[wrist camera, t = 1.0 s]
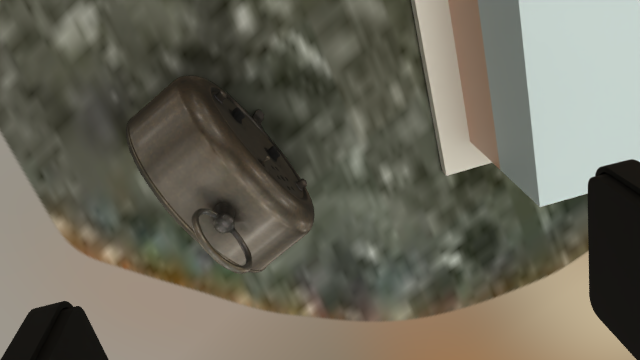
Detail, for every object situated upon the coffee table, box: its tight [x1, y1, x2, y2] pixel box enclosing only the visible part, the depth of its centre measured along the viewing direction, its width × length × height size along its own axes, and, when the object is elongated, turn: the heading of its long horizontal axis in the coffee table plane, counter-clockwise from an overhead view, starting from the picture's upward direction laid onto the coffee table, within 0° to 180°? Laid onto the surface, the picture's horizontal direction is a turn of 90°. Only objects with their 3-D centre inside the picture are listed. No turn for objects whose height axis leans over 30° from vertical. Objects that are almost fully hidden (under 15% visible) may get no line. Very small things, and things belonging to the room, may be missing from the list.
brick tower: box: [411, 0, 640, 207], centre depth 31 cm, size 16×16×11 cm
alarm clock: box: [126, 76, 314, 273], centre depth 29 cm, size 11×5×16 cm, turn 38°
